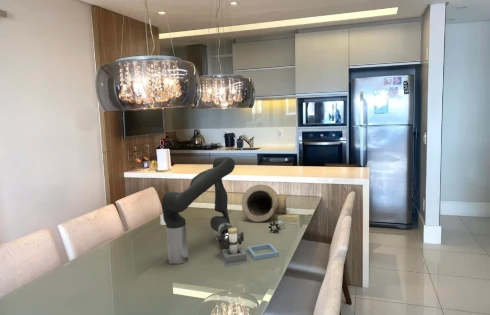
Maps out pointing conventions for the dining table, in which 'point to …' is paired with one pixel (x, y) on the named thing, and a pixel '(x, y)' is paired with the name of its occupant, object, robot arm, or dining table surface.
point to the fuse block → (234, 257)
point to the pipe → (262, 203)
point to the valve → (277, 225)
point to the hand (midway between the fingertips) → (234, 243)
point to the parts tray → (264, 255)
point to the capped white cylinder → (233, 240)
